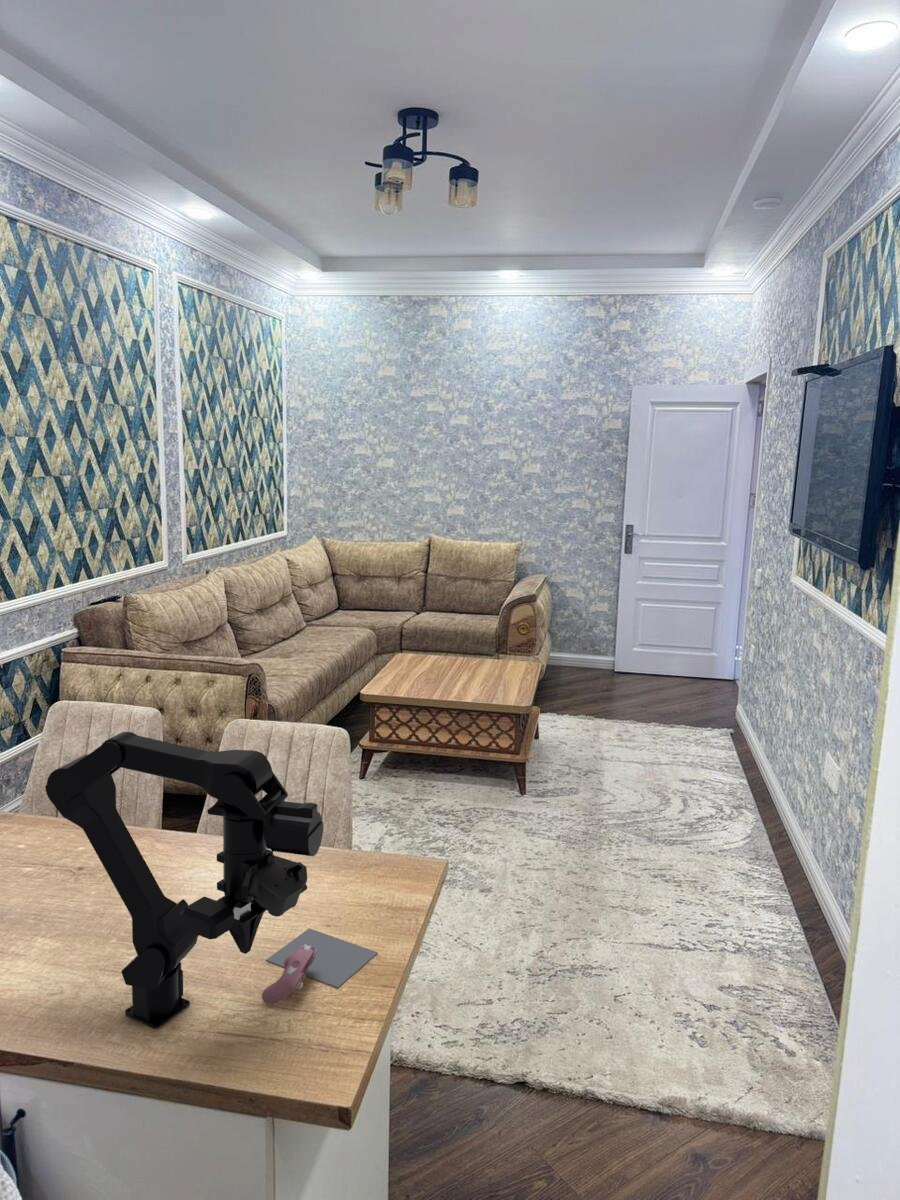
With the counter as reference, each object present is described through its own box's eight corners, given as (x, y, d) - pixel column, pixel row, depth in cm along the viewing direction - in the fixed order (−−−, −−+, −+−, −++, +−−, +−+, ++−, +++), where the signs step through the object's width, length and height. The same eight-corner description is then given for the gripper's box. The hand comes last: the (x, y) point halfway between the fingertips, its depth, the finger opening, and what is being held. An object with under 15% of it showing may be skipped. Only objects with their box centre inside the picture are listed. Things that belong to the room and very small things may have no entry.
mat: (337, 988, 128) (337, 987, 128) (266, 960, 134) (266, 959, 134) (377, 953, 137) (378, 952, 137) (309, 929, 144) (309, 928, 144)
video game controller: (283, 1018, 123) (304, 982, 121) (257, 1001, 123) (277, 965, 122) (308, 977, 132) (327, 944, 131) (283, 961, 133) (302, 928, 131)
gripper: (242, 889, 103) (243, 1007, 105) (334, 834, 119) (332, 937, 121) (176, 866, 108) (178, 979, 110) (272, 817, 124) (272, 916, 127)
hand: (245, 951), depth 117 cm, fingers closed
